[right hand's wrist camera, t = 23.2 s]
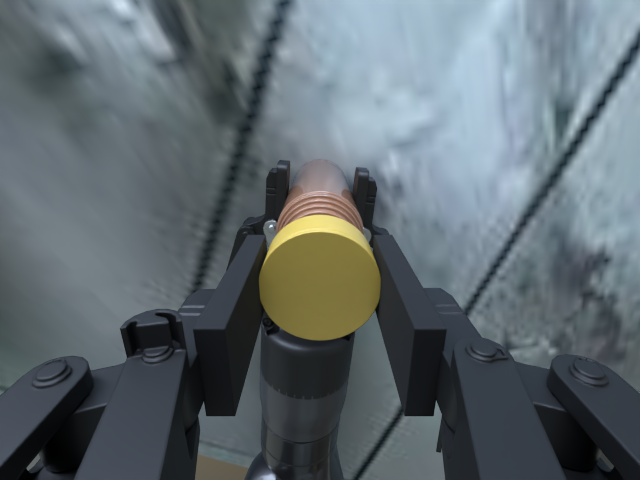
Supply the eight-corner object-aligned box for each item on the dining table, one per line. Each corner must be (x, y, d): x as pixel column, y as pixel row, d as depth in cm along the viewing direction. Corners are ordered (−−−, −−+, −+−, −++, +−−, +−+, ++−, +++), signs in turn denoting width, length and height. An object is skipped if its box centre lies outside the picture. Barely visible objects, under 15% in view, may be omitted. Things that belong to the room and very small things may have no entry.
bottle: (357, 186, 30) (404, 278, 13) (320, 222, 31) (321, 349, 14) (319, 147, 29) (318, 196, 12) (282, 187, 30) (235, 280, 13)
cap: (390, 283, 15) (401, 310, 13) (300, 327, 16) (297, 357, 14) (342, 194, 13) (346, 208, 11) (245, 246, 14) (234, 267, 12)
